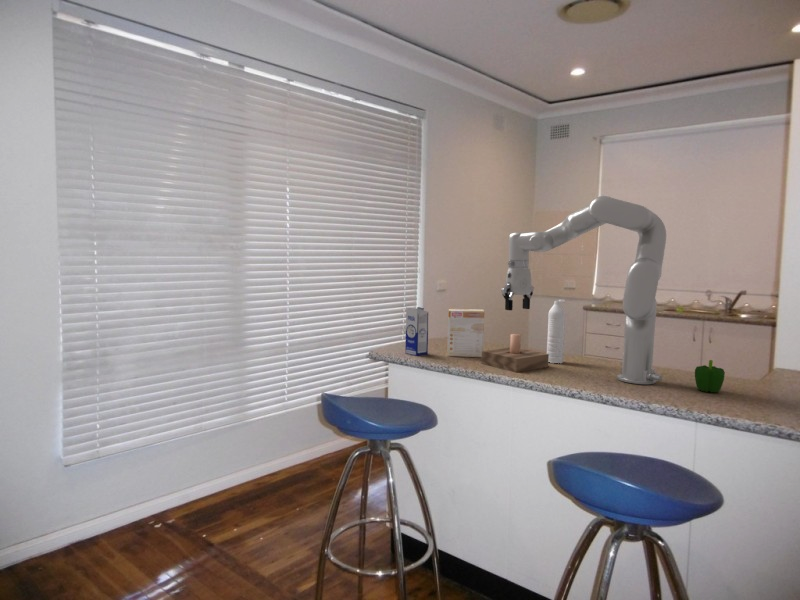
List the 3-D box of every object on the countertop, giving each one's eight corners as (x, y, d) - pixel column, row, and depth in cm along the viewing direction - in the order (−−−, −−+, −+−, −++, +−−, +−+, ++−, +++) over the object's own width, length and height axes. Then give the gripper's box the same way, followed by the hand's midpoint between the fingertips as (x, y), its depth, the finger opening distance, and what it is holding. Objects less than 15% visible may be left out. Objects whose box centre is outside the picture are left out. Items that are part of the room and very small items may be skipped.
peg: (521, 365, 210) (523, 335, 209) (514, 366, 208) (516, 335, 207) (514, 363, 213) (515, 333, 212) (507, 364, 211) (508, 334, 210)
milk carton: (404, 353, 231) (405, 306, 229) (416, 351, 235) (417, 305, 233) (416, 356, 225) (417, 308, 224) (427, 354, 230) (429, 307, 228)
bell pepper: (716, 395, 170) (718, 364, 169) (689, 390, 177) (691, 360, 176) (728, 392, 175) (730, 361, 174) (701, 386, 182) (703, 357, 181)
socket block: (548, 367, 208) (548, 354, 208) (516, 372, 198) (516, 358, 198) (513, 358, 223) (513, 347, 223) (481, 363, 213) (481, 350, 212)
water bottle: (558, 364, 214) (561, 301, 211) (543, 362, 218) (546, 300, 216) (568, 361, 220) (571, 300, 218) (553, 359, 224) (556, 299, 222)
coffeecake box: (482, 354, 232) (484, 309, 230) (483, 357, 225) (484, 311, 223) (447, 353, 233) (448, 308, 232) (447, 356, 226) (448, 309, 224)
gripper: (510, 265, 199) (509, 311, 200) (541, 265, 209) (540, 309, 210) (495, 264, 205) (494, 309, 206) (526, 264, 215) (525, 307, 216)
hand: (517, 309), depth 208 cm, fingers open, 9 cm apart
